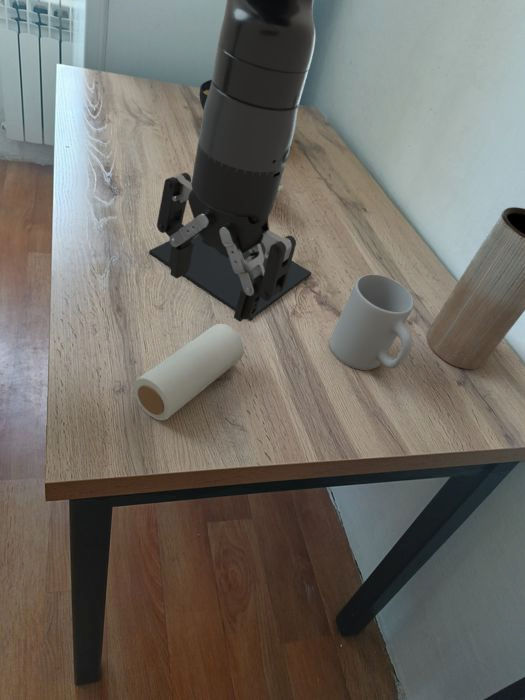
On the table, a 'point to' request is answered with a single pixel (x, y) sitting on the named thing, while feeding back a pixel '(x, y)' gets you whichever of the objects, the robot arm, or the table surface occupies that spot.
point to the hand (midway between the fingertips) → (210, 295)
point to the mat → (225, 273)
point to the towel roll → (188, 371)
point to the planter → (484, 296)
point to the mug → (373, 324)
